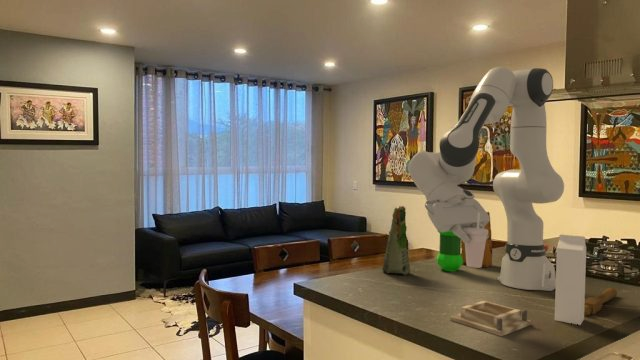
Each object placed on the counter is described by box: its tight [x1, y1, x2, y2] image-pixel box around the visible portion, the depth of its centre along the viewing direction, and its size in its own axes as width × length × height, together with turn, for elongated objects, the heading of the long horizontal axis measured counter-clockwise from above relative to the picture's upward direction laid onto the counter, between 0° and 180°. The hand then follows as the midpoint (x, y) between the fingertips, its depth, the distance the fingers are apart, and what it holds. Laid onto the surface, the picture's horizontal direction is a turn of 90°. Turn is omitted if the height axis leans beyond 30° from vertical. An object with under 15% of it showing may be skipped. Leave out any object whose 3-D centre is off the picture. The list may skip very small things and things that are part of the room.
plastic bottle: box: [436, 229, 464, 272], centre depth 180 cm, size 10×10×25 cm
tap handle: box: [584, 287, 618, 317], centre depth 136 cm, size 3×3×30 cm
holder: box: [449, 300, 532, 337], centre depth 118 cm, size 14×14×4 cm
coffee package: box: [461, 211, 493, 268], centre depth 191 cm, size 10×12×22 cm
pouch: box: [381, 205, 411, 276], centre depth 173 cm, size 11×12×25 cm
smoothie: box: [463, 213, 488, 269], centre depth 121 cm, size 6×6×14 cm
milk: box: [554, 234, 587, 326], centre depth 121 cm, size 6×6×22 cm
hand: (477, 240), depth 121 cm, fingers closed on smoothie, 6 cm apart
